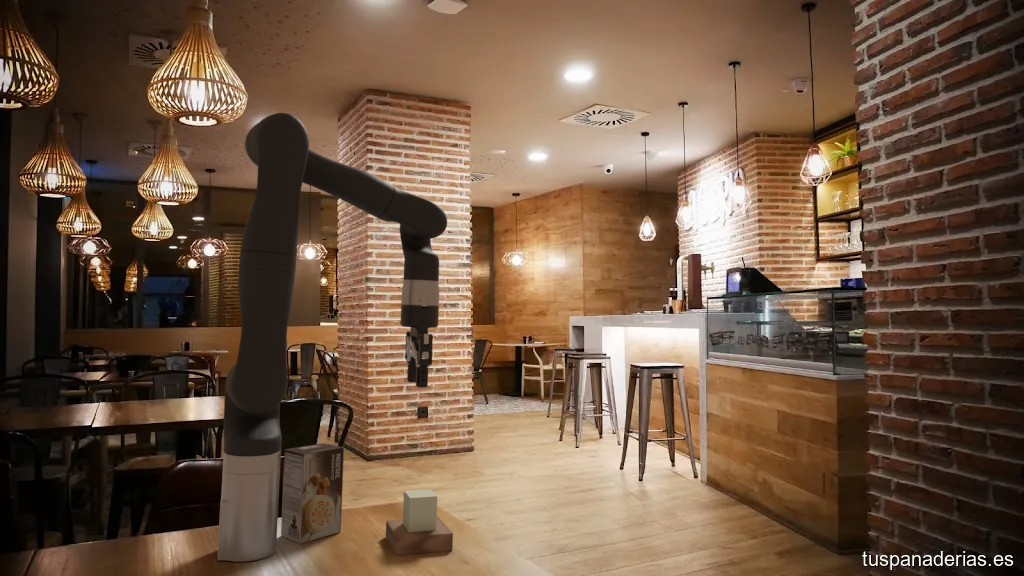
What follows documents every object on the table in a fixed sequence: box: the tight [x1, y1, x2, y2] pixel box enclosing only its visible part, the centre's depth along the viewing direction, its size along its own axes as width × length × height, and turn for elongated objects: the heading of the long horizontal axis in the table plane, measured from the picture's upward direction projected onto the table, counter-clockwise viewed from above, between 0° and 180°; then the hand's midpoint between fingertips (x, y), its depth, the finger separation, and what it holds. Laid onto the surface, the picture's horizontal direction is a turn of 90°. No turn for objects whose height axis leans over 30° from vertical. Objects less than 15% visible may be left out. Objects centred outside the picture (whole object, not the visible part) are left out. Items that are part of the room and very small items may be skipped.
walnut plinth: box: [385, 516, 454, 557], centre depth 122 cm, size 10×10×3 cm
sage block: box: [402, 488, 438, 532], centre depth 122 cm, size 5×5×6 cm
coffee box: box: [280, 442, 345, 544], centre depth 125 cm, size 9×6×16 cm
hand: (417, 384), depth 133 cm, fingers open, 8 cm apart
